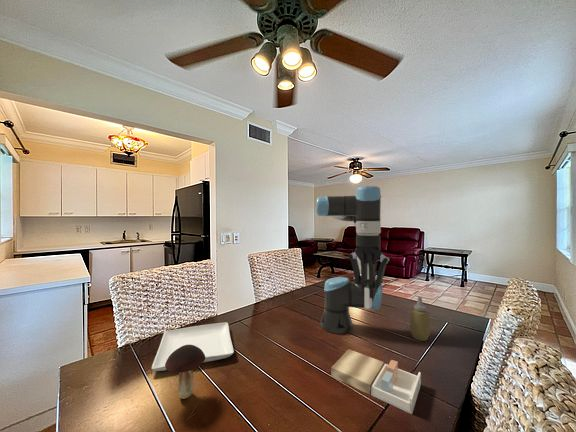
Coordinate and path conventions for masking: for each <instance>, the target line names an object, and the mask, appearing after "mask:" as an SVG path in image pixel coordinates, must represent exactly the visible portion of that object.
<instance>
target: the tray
mask: <svg viewBox="0 0 576 432" xmlns="http://www.w3.org/2000/svg"><path fill="white" fill-rule="evenodd" d="M388 365H389V364H388V363H384V366H383V367H382V369H381V371H380V373H379V374H378V376H377V378H376V379H375V381H374V383H373V384H372V386H371V394H370V395H371V396H372V397H374V398H377V399H379V400H380V401H382V402H385V403H387V404H389V405H391V406H393V407H395V408H398V409H400V410H401V411H404V412H405V413H407V414H410V415H413V412H414V410H415V406H416V402H417V400H418V397H419V396H418V395H419V393H420V389H421V386H422V373H421V372H420V371H418V374H417V375H416V374H413V373H410V372H409V371H406V370H403V369H400V368H398V378H397V380H396V382H395V384H394V385H393V391H392V394H390V393H388V392H386V391H383V390H382V378H383V376H384V374H385V372H386V371H387V366H388Z"/></svg>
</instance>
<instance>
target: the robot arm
mask: <svg viewBox="0 0 576 432" xmlns="http://www.w3.org/2000/svg"><path fill="white" fill-rule="evenodd" d="M381 199H382V195H381V187H379V186H377V185H363V186H359V187H357V188H356V190H355V195H342V196H341V195H338V196H337V195H336V196H335V195H333V196H328V195H324V196H318V197H317V198H316V203H315V205H316V206H315V209H316V214H317V216H319V217H332V218H333V219H335V220H339V221H343V222H353V225H354V227H355V232H356V235H355V238H356V239H355V246H356V248H355V249H354V252H352V253H350V254H348V259H349V261H350V263H351V267H352V272H353V275H354V277H353V281H350V280H349V278H348V277H343V276H342V277H341V276H340V277H339V276H337V277H331V278H328V279H327V280H326V281H324V289H323V291H324V311H323V313H322V317H321V320H320V326H321V329H323V330H324V331H325V332H327V333H331V334H338V335H340V334H341V335H342V334H343V335H344V334H348V333H350V332H352V330H353V320H352V316H351V314H350V310H349V308H356V309H357V308H358V309H365V310H379V309H380V307H381V305H382V299H383V298H382V297H383V284H382V282H383V278H384V276H385V270H386V268H387V264H388V263H389V262H390V260H391V259H390V257H389V256H386V255H384V254H383V251H382V249H381V247H382V246H381V245H382V244H381V241H382V240H381V239H382V238H381V235H380V234H381V232H382V228H381V205H382V204H381ZM378 260H380V264H379V267H378V271H377V275H376V265H377V262H378Z"/></svg>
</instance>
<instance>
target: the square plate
mask: <svg viewBox="0 0 576 432" xmlns="http://www.w3.org/2000/svg"><path fill="white" fill-rule="evenodd" d="M184 345H194V346H196V347H198V348H200V349H201V350H202V351H203V353H204V354H205V360H204V362H203V363H207V362H213V361H219V360H222V359H224V360H225V359H227V358H229V357H231V356H232V355H233V354H234V353H235V349H234V347H233V342H232V338H231V332H230V327H229V323H228V321H226V322H219V323H217V322H216V323H208V324H201V325H200V324H199V325H194V326H188V327H187V326H186V327H183V328H176V329H172V330H171V329H169V330H166V331H164V332H163V335H162V338H161V340H160V343H159V347H158V349H157V352H156V355H155V357H154V359H153V362H152V365H151V370H152V371H155V372H160V371H168V370H167V369H166V367H165V363H166V361H167V359H168V357H169V356H170V355H171V354H172V353H173V352H174V351H175V350H176V349H178V348H180V347H182V346H184Z"/></svg>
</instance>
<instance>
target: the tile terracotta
mask: <svg viewBox="0 0 576 432" xmlns="http://www.w3.org/2000/svg"><path fill="white" fill-rule="evenodd" d="M387 365H388V366H387V371H389V372H391V373H393V385H394V384H395V382H396V380H397V378H398V369H399V362H398V361H397V360H393V359H391V360H390V361H389V363H388V364H387Z"/></svg>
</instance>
